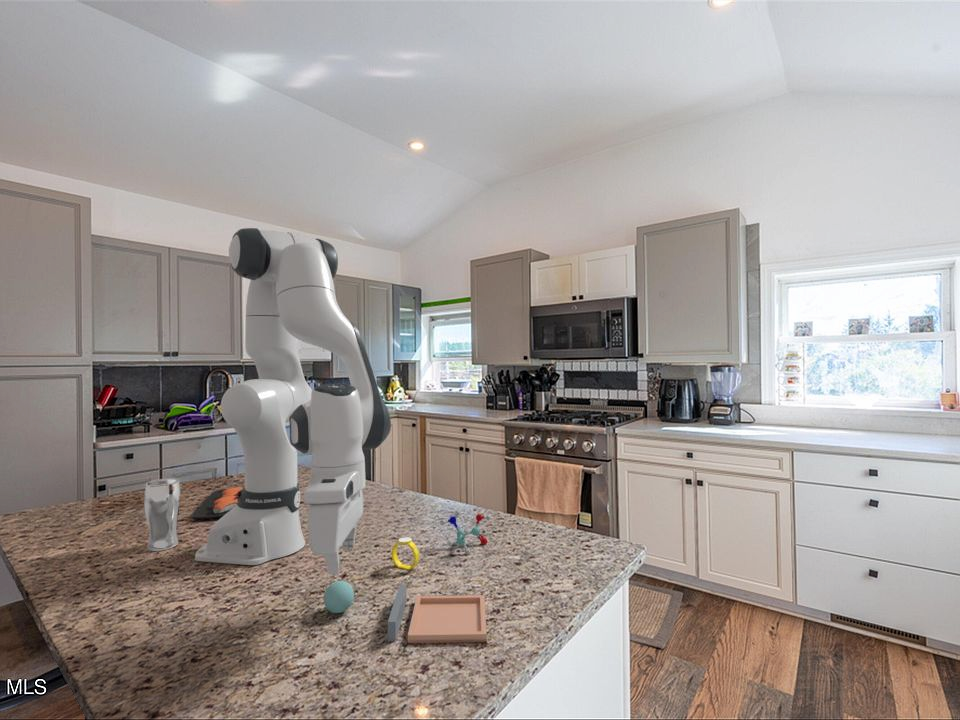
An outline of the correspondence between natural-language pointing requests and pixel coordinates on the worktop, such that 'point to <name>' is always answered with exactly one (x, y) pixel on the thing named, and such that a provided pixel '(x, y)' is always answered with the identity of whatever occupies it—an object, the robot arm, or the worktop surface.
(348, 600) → the ball
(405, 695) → the worktop surface
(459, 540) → the molecular model
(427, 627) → the dish
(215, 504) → the sushi plate
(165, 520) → the beer glass
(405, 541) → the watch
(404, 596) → the block
